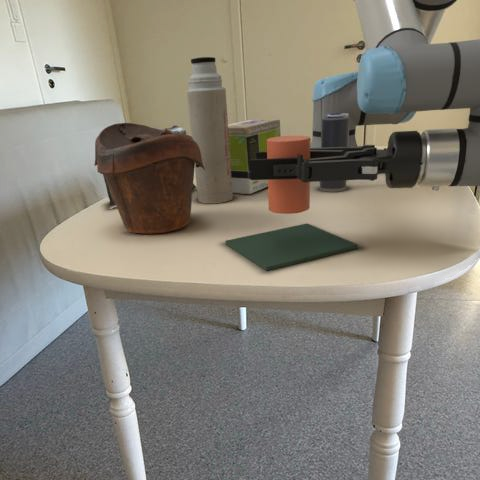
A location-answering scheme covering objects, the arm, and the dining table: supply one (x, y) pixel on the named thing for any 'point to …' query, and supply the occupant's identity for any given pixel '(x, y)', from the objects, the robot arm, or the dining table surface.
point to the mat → (289, 246)
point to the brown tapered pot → (148, 175)
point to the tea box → (249, 151)
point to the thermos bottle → (210, 131)
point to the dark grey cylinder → (334, 145)
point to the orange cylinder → (288, 190)
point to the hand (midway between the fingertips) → (254, 165)
